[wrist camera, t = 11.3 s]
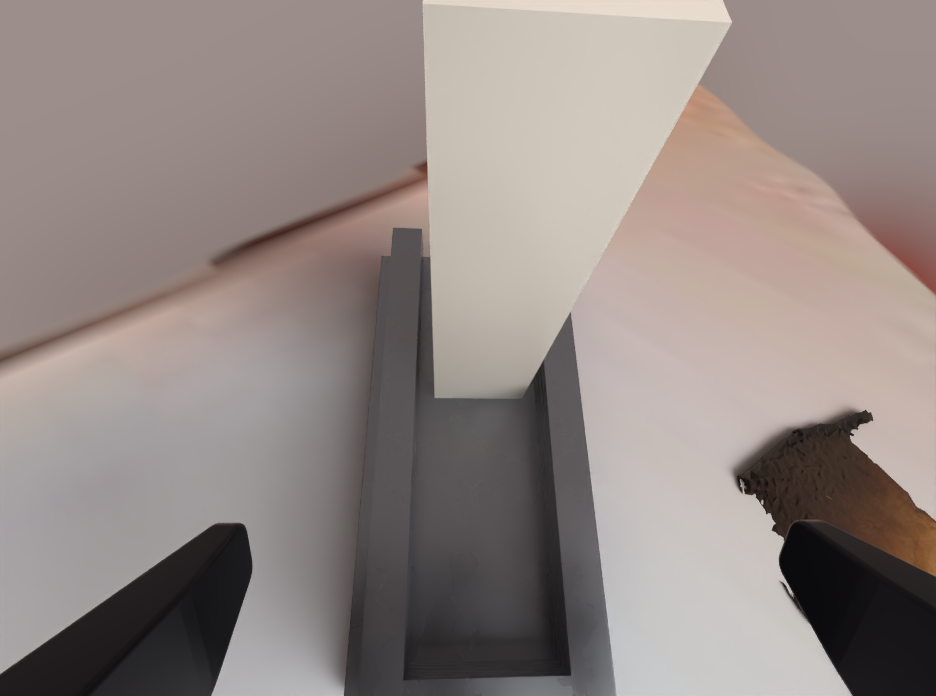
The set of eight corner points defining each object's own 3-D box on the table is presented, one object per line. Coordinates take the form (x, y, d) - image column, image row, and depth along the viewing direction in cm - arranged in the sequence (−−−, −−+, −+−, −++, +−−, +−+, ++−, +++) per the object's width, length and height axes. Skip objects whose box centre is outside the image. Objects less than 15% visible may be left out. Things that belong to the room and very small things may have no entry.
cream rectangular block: (521, 398, 18) (732, 22, 5) (434, 398, 18) (423, 3, 5) (515, 301, 20) (658, -154, 7) (436, 300, 19) (432, -173, 7)
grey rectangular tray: (605, 686, 15) (643, 718, 12) (349, 694, 14) (328, 728, 12) (559, 273, 22) (576, 233, 19) (384, 268, 21) (376, 227, 18)
